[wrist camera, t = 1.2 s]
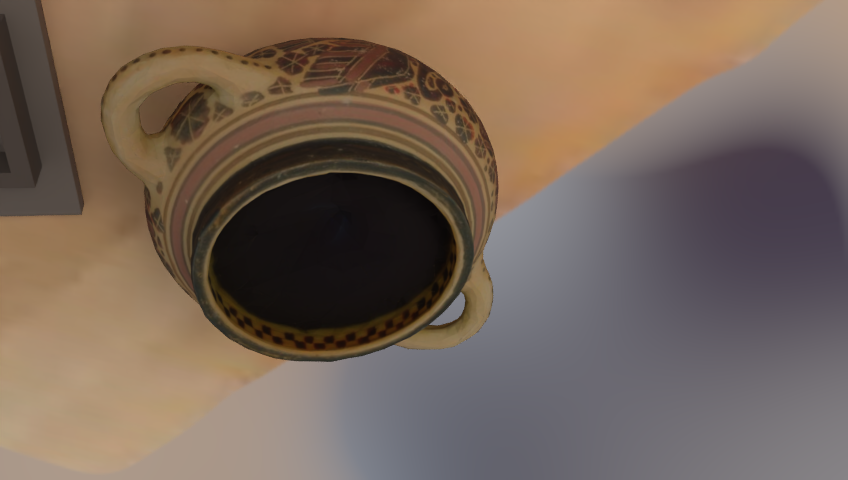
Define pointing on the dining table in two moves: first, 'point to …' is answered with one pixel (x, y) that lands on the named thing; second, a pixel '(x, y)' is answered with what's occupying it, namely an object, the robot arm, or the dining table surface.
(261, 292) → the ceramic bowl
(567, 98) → the dining table surface
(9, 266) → the dining table surface
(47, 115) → the base board
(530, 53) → the dining table surface
